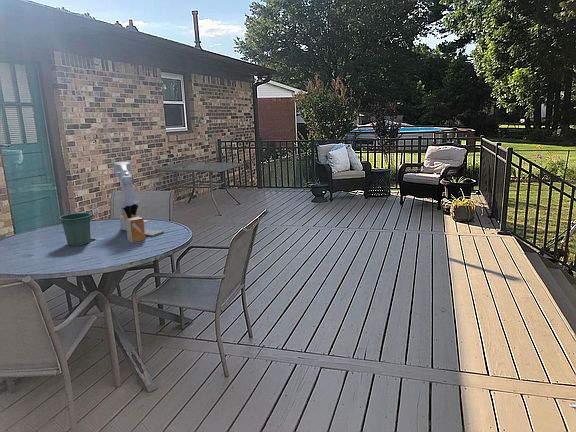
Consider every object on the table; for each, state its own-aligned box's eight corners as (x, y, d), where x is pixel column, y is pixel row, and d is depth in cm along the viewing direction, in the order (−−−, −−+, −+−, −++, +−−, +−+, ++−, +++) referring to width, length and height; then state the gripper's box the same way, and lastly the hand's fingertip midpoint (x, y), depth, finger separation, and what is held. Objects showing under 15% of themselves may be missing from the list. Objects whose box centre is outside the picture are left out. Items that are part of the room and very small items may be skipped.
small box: (132, 242, 250) (130, 220, 247) (127, 240, 254) (125, 218, 252) (145, 239, 255) (143, 218, 253) (140, 238, 260) (138, 216, 257)
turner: (121, 221, 267) (121, 215, 266) (130, 219, 273) (129, 213, 273) (141, 224, 261) (140, 217, 260) (149, 221, 268) (148, 215, 267)
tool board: (127, 234, 269) (127, 232, 269) (139, 230, 278) (138, 228, 278) (152, 237, 261) (152, 235, 261) (164, 233, 270) (163, 231, 270)
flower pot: (82, 247, 243) (78, 219, 239) (56, 246, 246) (52, 218, 243) (100, 239, 259) (97, 212, 255) (75, 238, 262) (72, 212, 258)
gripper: (125, 197, 257) (128, 220, 260) (142, 193, 270) (145, 215, 273) (116, 197, 260) (119, 219, 263) (133, 193, 273) (136, 215, 276)
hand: (131, 217), depth 268 cm, fingers closed on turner, 3 cm apart
